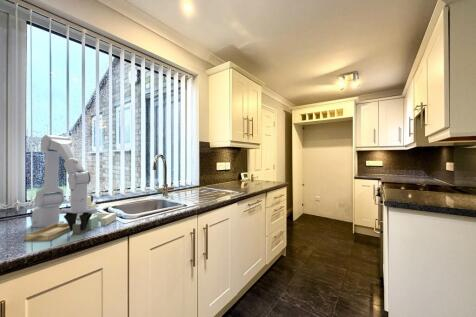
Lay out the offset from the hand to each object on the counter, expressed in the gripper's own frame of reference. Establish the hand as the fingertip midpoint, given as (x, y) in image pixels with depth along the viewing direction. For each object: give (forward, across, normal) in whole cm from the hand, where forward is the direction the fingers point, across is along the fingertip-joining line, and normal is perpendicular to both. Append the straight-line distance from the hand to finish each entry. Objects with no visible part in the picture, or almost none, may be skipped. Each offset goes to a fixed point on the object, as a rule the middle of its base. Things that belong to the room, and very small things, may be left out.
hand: (78, 229), depth 90 cm
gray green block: (+2, 0, +5) cm, 5 cm away
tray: (+2, -10, +1) cm, 11 cm away
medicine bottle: (+2, -12, +26) cm, 29 cm away
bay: (+2, 0, +16) cm, 16 cm away
